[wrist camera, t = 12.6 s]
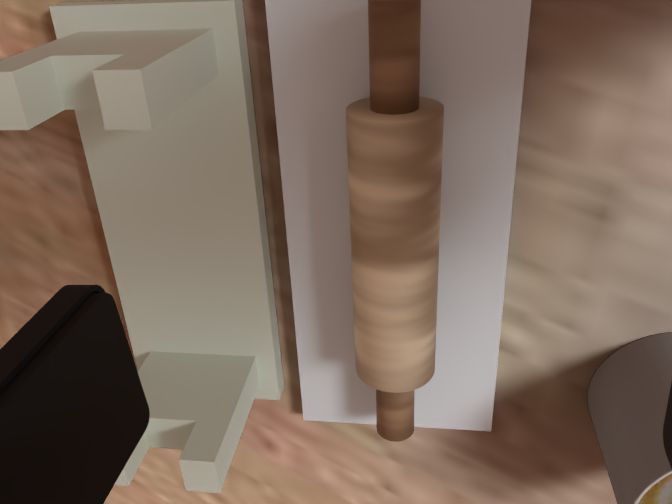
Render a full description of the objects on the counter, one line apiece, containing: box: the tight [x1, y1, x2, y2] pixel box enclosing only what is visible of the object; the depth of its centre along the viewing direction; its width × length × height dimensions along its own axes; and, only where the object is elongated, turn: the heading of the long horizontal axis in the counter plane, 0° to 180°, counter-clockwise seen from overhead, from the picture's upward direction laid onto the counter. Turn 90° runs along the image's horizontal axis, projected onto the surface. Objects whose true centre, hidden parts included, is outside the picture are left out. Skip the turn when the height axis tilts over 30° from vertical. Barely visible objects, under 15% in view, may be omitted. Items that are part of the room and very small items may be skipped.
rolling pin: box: [346, 0, 444, 441], centre depth 35 cm, size 26×5×5 cm, turn 3°
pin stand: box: [0, 0, 284, 493], centre depth 35 cm, size 10×26×11 cm, turn 3°
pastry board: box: [265, 0, 531, 431], centre depth 38 cm, size 13×30×1 cm, turn 3°
